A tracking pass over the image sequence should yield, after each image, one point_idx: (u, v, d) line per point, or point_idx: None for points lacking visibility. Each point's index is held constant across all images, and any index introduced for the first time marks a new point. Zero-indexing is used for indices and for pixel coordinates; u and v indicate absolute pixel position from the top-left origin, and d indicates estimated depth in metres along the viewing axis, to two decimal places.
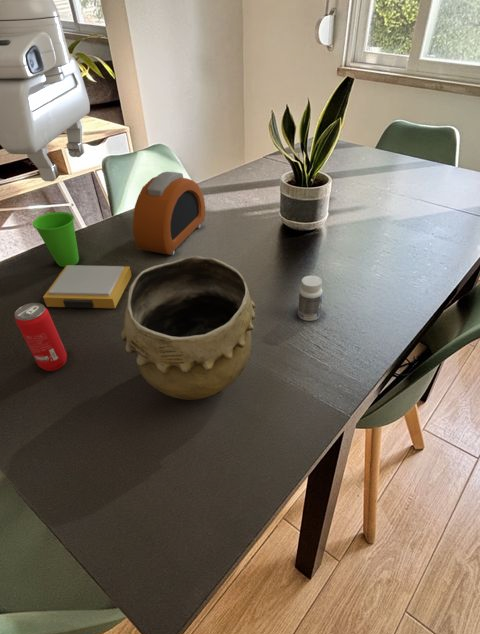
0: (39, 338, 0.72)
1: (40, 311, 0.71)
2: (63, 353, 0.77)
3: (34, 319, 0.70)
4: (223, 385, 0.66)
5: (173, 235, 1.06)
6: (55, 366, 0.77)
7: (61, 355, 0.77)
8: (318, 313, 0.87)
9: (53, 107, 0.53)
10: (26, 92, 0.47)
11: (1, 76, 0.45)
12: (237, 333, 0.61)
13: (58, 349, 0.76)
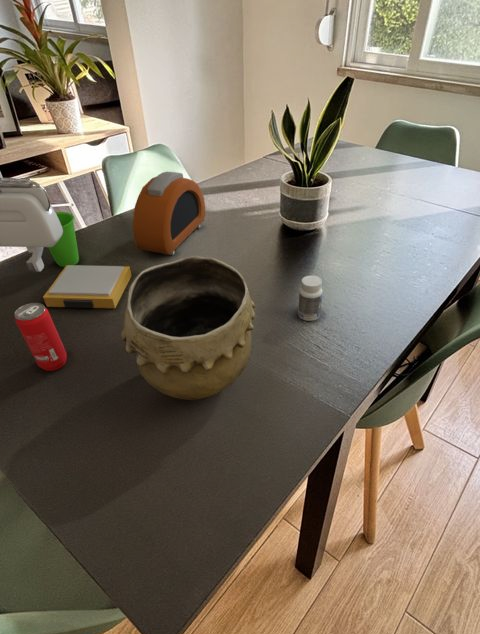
0: (38, 338, 0.72)
1: (40, 311, 0.71)
2: (63, 353, 0.77)
3: (34, 319, 0.70)
4: (223, 385, 0.66)
5: (173, 235, 1.06)
6: (55, 366, 0.77)
7: (61, 355, 0.77)
8: (318, 313, 0.87)
9: None
10: None
11: None
12: (237, 333, 0.61)
13: (58, 349, 0.76)
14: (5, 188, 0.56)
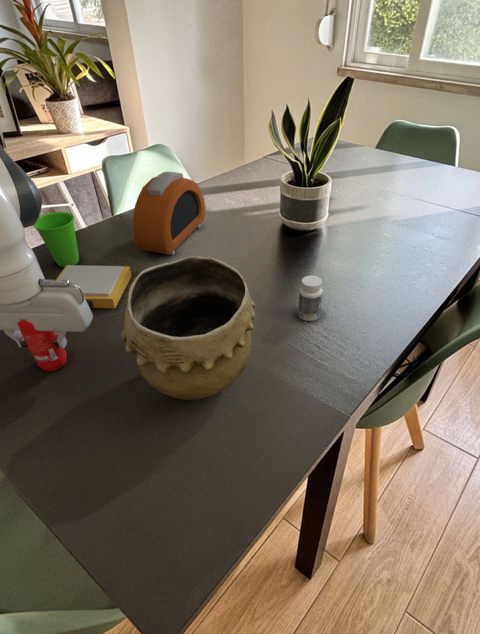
0: (38, 338, 0.72)
1: None
2: (62, 353, 0.77)
3: None
4: (223, 385, 0.66)
5: (173, 235, 1.06)
6: (55, 366, 0.77)
7: (61, 355, 0.77)
8: (318, 313, 0.87)
9: (10, 316, 0.69)
10: None
11: None
12: (237, 333, 0.61)
13: (57, 349, 0.76)
14: (46, 287, 0.67)
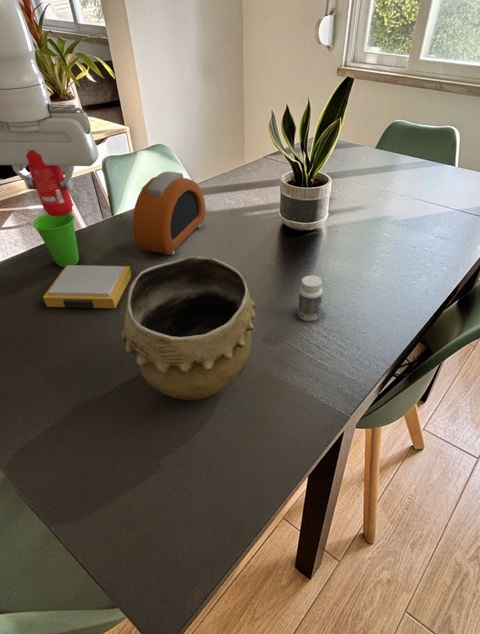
0: (46, 173, 0.75)
1: None
2: (69, 199, 0.80)
3: None
4: (223, 385, 0.66)
5: (173, 235, 1.06)
6: (61, 210, 0.80)
7: (67, 200, 0.80)
8: (318, 313, 0.87)
9: (19, 146, 0.72)
10: None
11: None
12: (237, 333, 0.61)
13: (64, 192, 0.79)
14: (55, 113, 0.70)
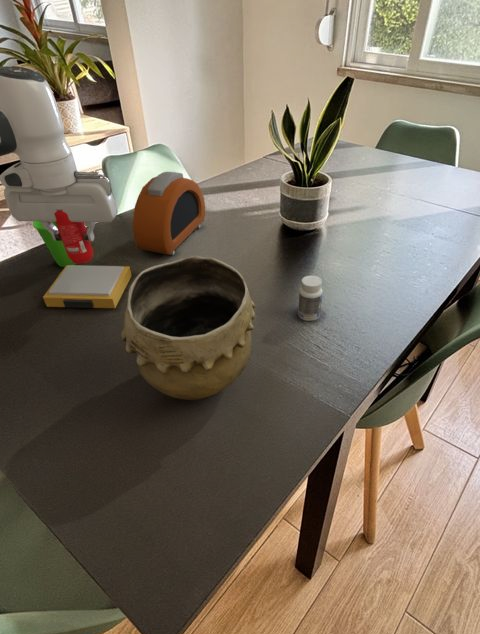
0: (71, 228, 0.84)
1: None
2: (90, 248, 0.90)
3: None
4: (223, 385, 0.66)
5: (173, 235, 1.06)
6: (84, 258, 0.89)
7: (89, 249, 0.89)
8: (318, 313, 0.87)
9: (49, 206, 0.82)
10: (7, 192, 0.79)
11: None
12: (237, 333, 0.61)
13: (86, 242, 0.88)
14: (80, 179, 0.79)
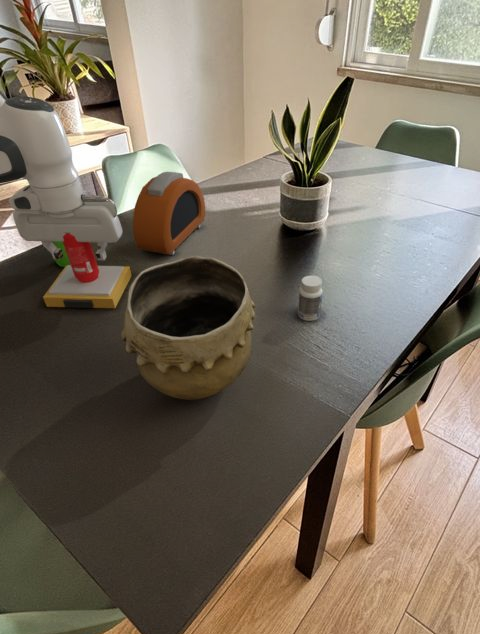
0: (78, 250, 0.88)
1: None
2: (96, 268, 0.93)
3: None
4: (223, 385, 0.66)
5: (173, 235, 1.06)
6: (90, 278, 0.92)
7: (95, 269, 0.92)
8: (318, 313, 0.87)
9: (56, 227, 0.84)
10: (16, 214, 0.82)
11: None
12: (237, 333, 0.61)
13: (92, 263, 0.91)
14: (87, 202, 0.82)
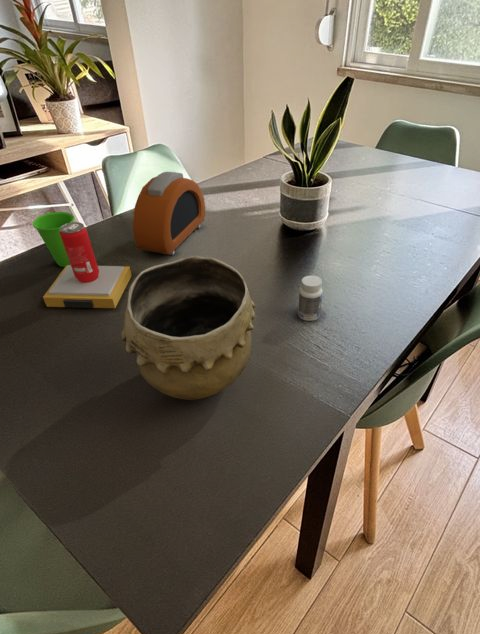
0: (78, 250, 0.88)
1: (80, 227, 0.87)
2: (96, 268, 0.93)
3: (76, 233, 0.85)
4: (223, 385, 0.66)
5: (173, 235, 1.06)
6: (90, 278, 0.92)
7: (95, 269, 0.92)
8: (318, 313, 0.87)
9: None
10: None
11: None
12: (237, 333, 0.61)
13: (92, 263, 0.91)
14: None
